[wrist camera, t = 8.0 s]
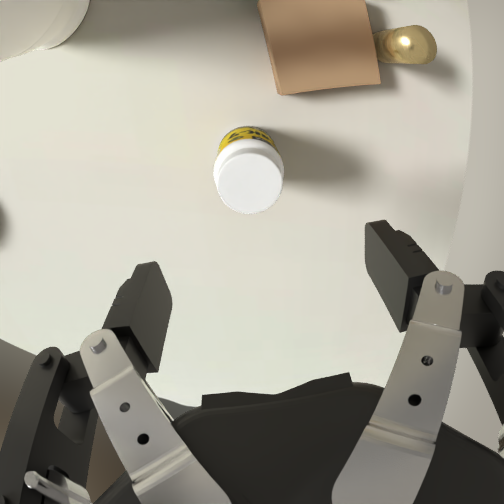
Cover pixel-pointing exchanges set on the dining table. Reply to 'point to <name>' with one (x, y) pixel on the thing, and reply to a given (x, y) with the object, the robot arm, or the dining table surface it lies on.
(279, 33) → the brown wooden square block
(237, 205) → the supplement bottle
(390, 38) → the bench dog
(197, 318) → the dining table surface
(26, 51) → the jar
